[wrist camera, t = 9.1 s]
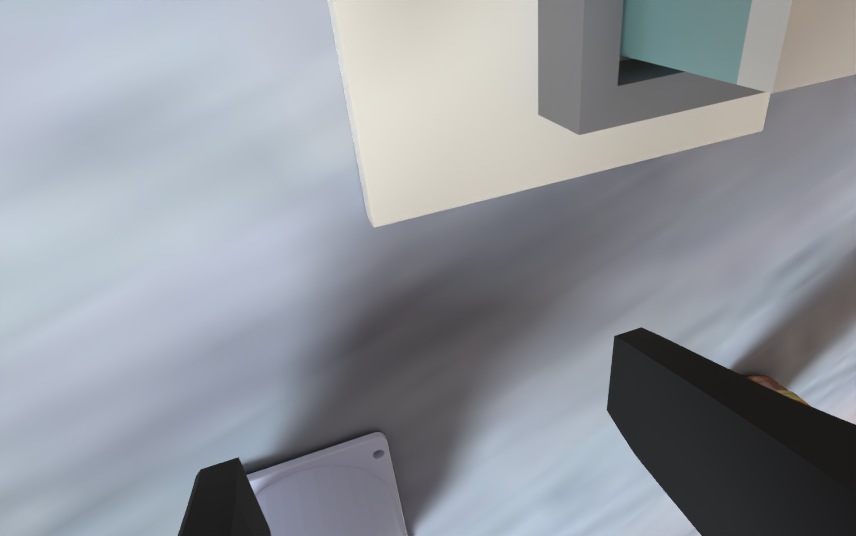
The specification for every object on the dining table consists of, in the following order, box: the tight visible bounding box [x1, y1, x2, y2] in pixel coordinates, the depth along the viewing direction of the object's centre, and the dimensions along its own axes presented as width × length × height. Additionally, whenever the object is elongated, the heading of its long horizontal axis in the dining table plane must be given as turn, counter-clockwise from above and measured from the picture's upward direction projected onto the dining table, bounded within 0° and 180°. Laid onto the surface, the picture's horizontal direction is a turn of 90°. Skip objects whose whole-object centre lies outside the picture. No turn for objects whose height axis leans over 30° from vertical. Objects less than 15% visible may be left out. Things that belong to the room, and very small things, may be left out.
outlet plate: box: [327, 0, 771, 228], centre depth 17 cm, size 11×16×4 cm
